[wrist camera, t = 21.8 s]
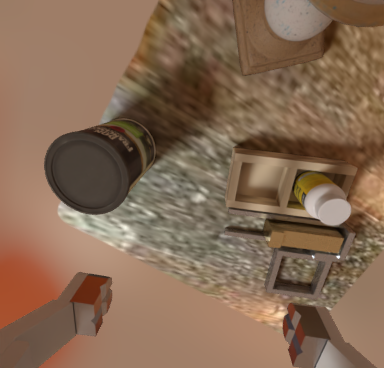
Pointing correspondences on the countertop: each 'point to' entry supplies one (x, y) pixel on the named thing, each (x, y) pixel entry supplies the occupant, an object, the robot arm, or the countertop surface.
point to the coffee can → (99, 165)
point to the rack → (277, 179)
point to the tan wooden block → (302, 235)
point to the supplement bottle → (321, 197)
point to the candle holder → (293, 29)
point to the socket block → (296, 253)
